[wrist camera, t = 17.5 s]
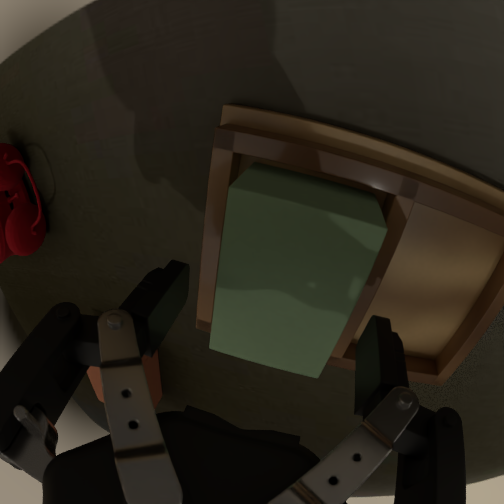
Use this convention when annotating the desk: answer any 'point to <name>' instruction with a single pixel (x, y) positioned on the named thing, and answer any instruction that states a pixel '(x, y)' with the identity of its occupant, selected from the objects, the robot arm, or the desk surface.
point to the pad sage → (292, 266)
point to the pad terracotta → (150, 371)
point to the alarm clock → (18, 207)
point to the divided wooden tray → (395, 242)
